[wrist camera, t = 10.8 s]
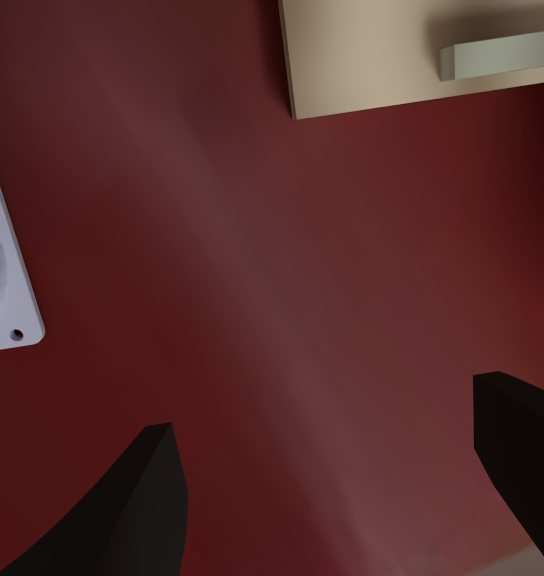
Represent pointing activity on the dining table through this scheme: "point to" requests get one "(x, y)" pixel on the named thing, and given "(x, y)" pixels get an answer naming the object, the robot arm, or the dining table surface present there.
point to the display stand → (406, 50)
